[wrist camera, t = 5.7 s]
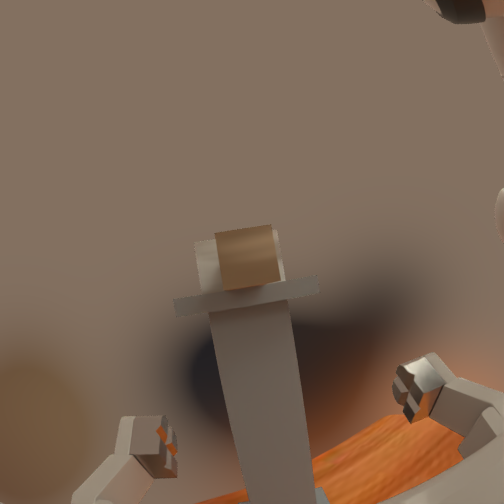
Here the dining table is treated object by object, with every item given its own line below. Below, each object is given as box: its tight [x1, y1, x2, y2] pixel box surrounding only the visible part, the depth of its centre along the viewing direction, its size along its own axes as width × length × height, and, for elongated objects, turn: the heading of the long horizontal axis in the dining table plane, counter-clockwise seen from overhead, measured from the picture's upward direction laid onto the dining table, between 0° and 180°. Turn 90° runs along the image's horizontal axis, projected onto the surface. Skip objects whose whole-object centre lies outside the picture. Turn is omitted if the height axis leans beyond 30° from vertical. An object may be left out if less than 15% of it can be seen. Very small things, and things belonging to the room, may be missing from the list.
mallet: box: [194, 224, 286, 295], centre depth 25 cm, size 18×8×5 cm, turn 3°
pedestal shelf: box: [173, 275, 330, 504], centre depth 28 cm, size 12×11×32 cm
